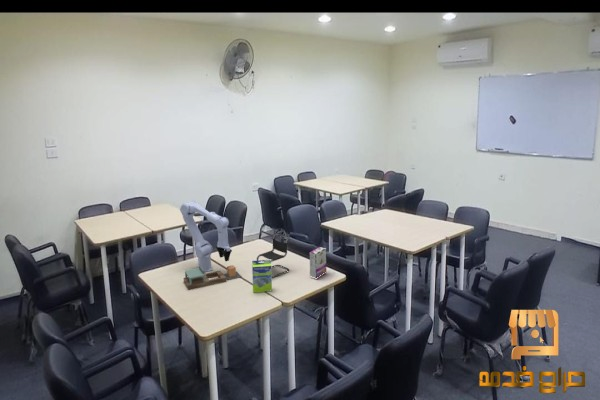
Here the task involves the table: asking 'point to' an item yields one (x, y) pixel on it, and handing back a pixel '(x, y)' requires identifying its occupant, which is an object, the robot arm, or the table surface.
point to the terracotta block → (231, 271)
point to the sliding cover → (195, 273)
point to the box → (262, 276)
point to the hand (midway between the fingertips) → (224, 258)
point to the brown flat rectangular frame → (200, 280)
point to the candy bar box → (317, 262)
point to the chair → (280, 247)
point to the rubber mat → (232, 277)
